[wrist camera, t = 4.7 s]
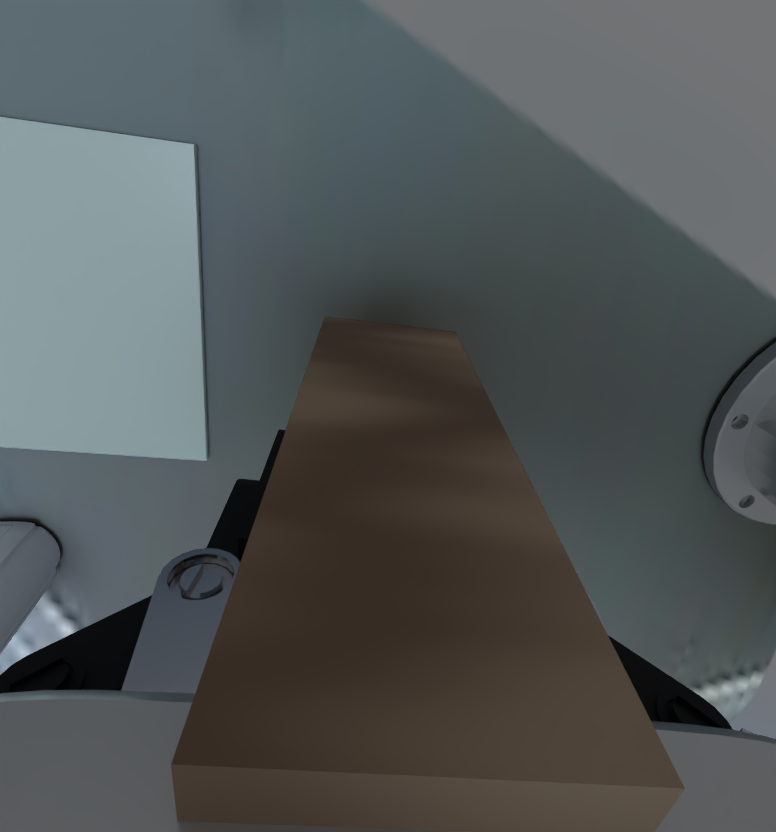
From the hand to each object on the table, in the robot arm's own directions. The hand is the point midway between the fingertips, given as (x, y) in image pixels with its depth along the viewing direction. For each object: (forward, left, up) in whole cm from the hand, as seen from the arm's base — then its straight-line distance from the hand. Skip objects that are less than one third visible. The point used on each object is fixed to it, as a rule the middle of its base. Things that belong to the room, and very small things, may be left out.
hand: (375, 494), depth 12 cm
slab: (0, 0, -3) cm, 3 cm away
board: (+15, 0, -12) cm, 19 cm away
